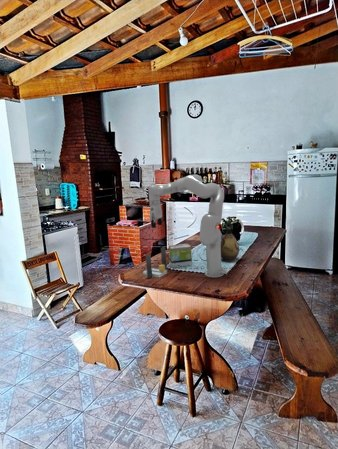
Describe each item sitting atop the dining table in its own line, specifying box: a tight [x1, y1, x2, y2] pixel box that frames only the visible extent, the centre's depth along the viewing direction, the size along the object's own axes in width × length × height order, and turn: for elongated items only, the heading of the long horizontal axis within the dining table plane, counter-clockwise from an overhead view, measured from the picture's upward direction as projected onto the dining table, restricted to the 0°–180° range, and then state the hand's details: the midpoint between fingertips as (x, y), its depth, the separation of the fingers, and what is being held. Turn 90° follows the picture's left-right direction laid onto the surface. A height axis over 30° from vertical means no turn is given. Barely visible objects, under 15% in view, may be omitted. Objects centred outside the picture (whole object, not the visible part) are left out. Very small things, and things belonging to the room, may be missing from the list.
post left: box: [145, 253, 153, 279], centre depth 204 cm, size 3×3×16 cm
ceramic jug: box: [221, 219, 240, 263], centre depth 228 cm, size 17×15×30 cm
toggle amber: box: [158, 263, 165, 272], centre depth 210 cm, size 3×3×4 cm
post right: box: [160, 246, 168, 271], centre depth 218 cm, size 3×3×16 cm
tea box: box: [168, 243, 193, 269], centre depth 225 cm, size 15×10×15 cm
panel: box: [142, 267, 168, 279], centre depth 212 cm, size 14×9×3 cm, turn 56°
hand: (156, 226), depth 220 cm, fingers open, 9 cm apart
